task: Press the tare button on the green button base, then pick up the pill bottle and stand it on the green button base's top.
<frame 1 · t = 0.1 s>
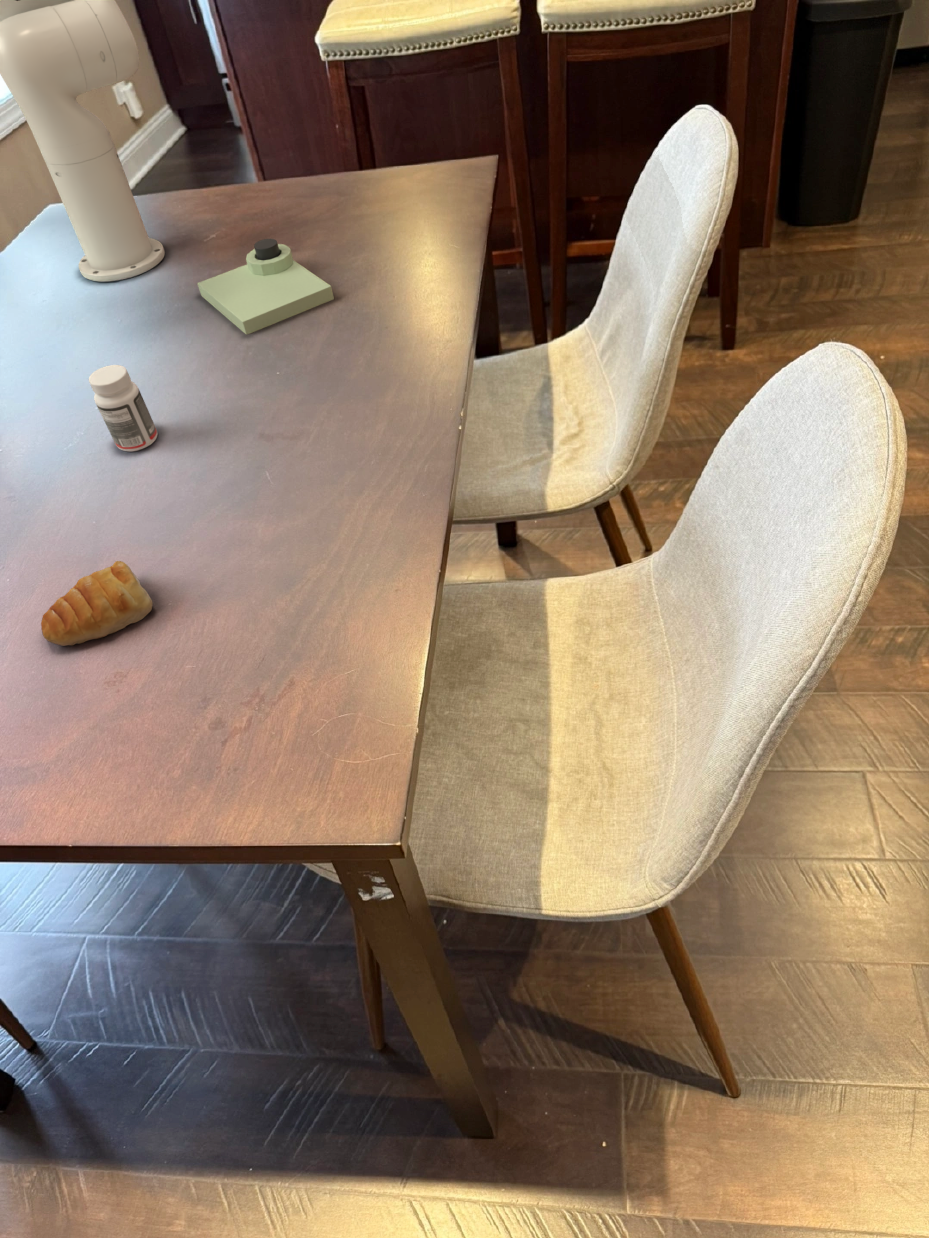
green button base: (266, 298, 117), on the table
tare button: (267, 250, 118), point 4 cm above the table, slide at 0.1 cm
pastry: (108, 616, 78), on the table
pill bottle: (138, 441, 97), on the table
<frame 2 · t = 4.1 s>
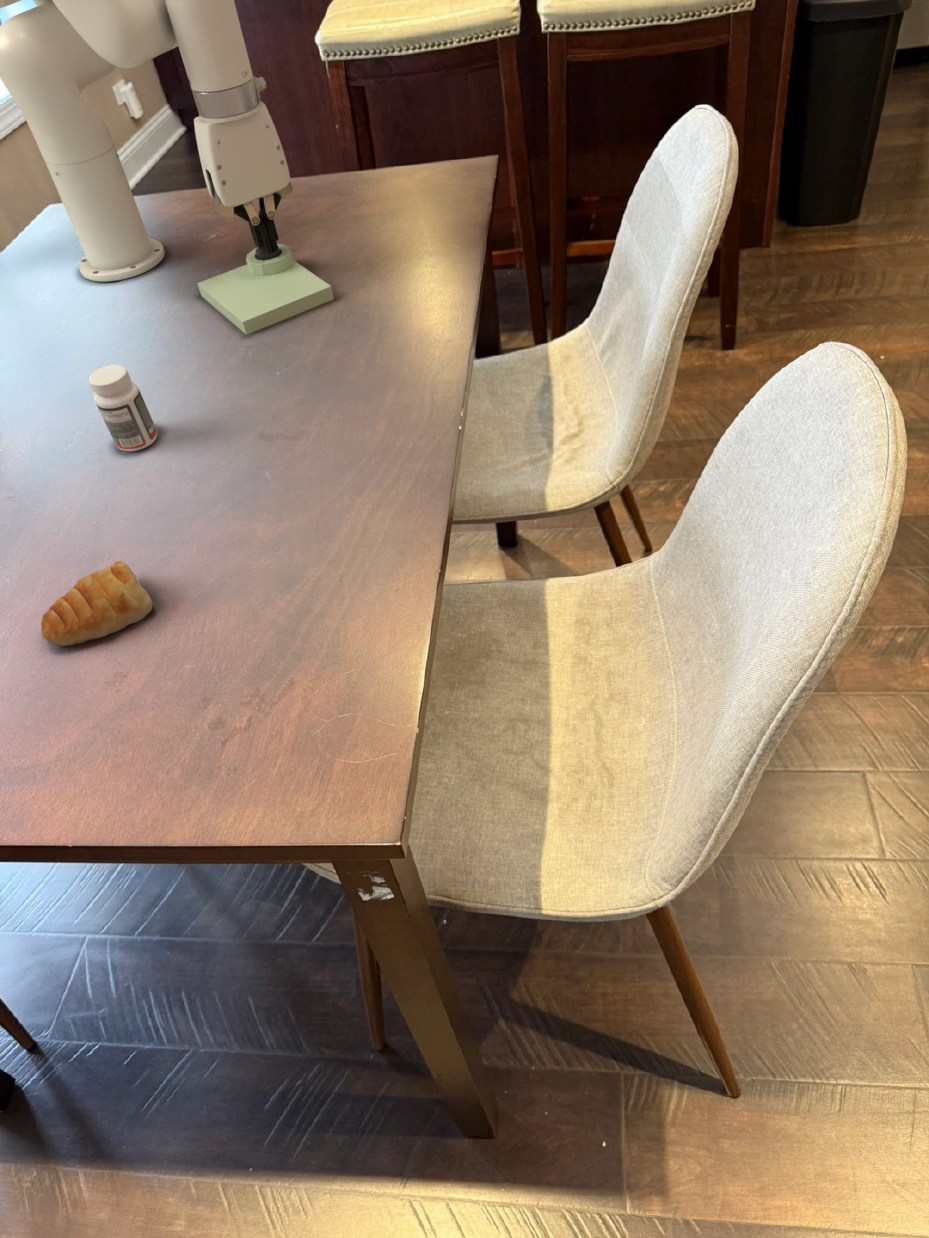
hand: (268, 249, 118), 4 cm above the table, tool pointing down, fingers closed
tare button: (268, 255, 119), point 3 cm above the table, slide at -0.6 cm, touching gripper
everything else where it was.
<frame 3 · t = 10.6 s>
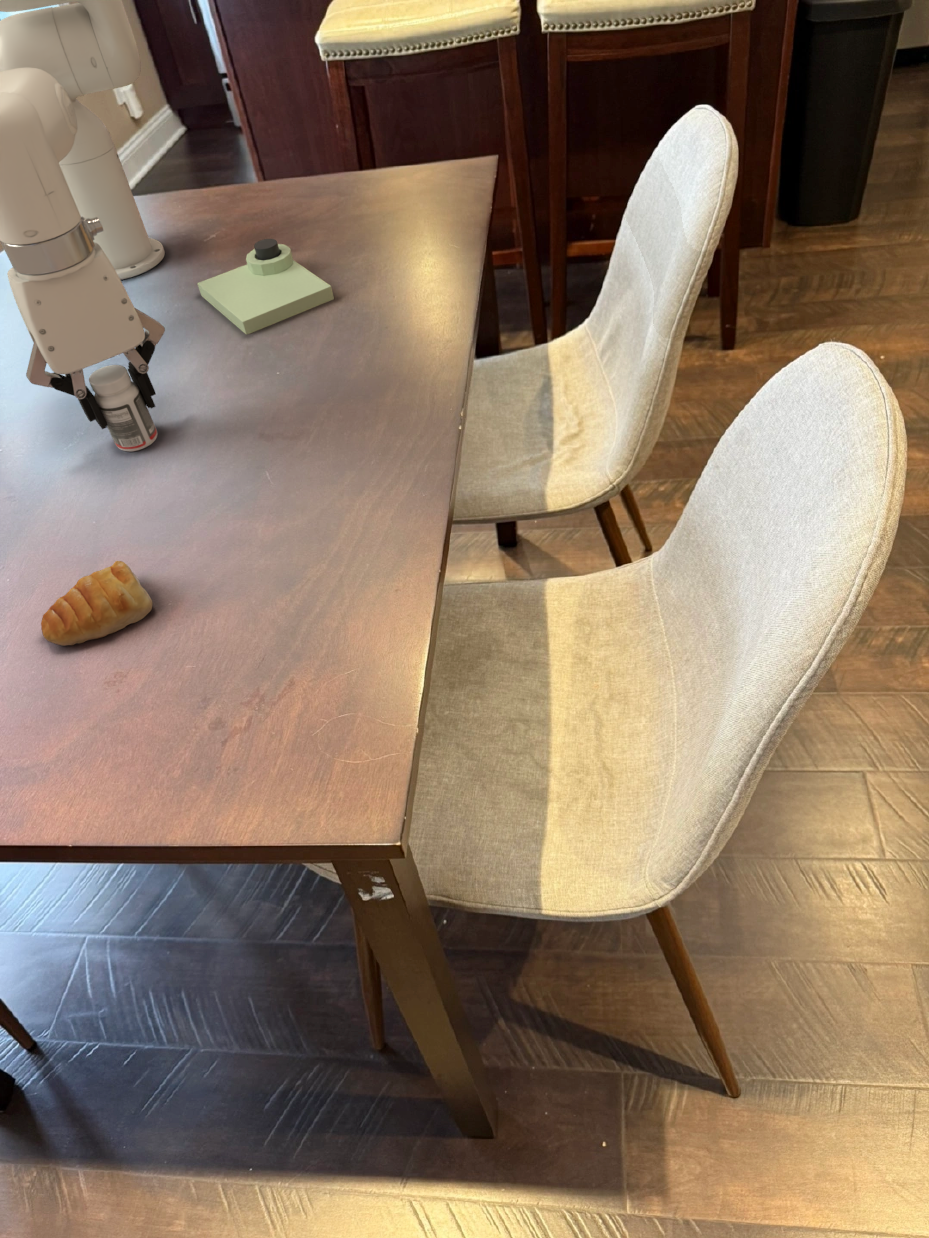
hand: (124, 411, 94), 4 cm above the table, tool pointing down, fingers closed on pill bottle, 4 cm apart
tare button: (267, 250, 118), point 4 cm above the table, slide at 0.1 cm
pill bottle: (138, 441, 97), on the table, touching gripper
everything else where it was.
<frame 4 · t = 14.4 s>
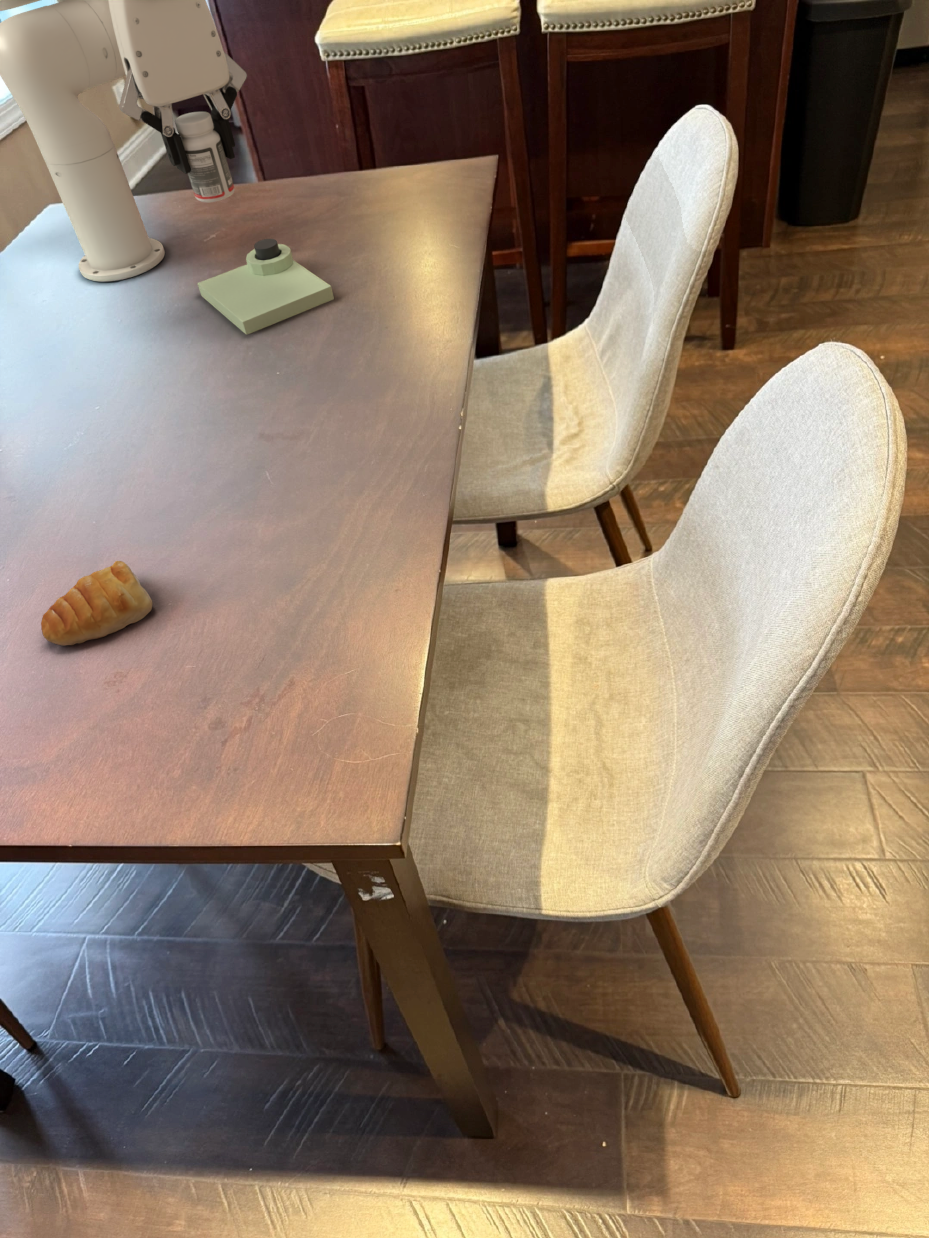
hand: (205, 161, 99), 20 cm above the table, tool pointing down, fingers closed on pill bottle, 4 cm apart
pill bottle: (215, 197, 102), point 16 cm above the table, touching gripper
everything else where it was.
when the fingers open (6 cm above the table, at t = 18.3 s): pill bottle stays where it is, resting on green button base.
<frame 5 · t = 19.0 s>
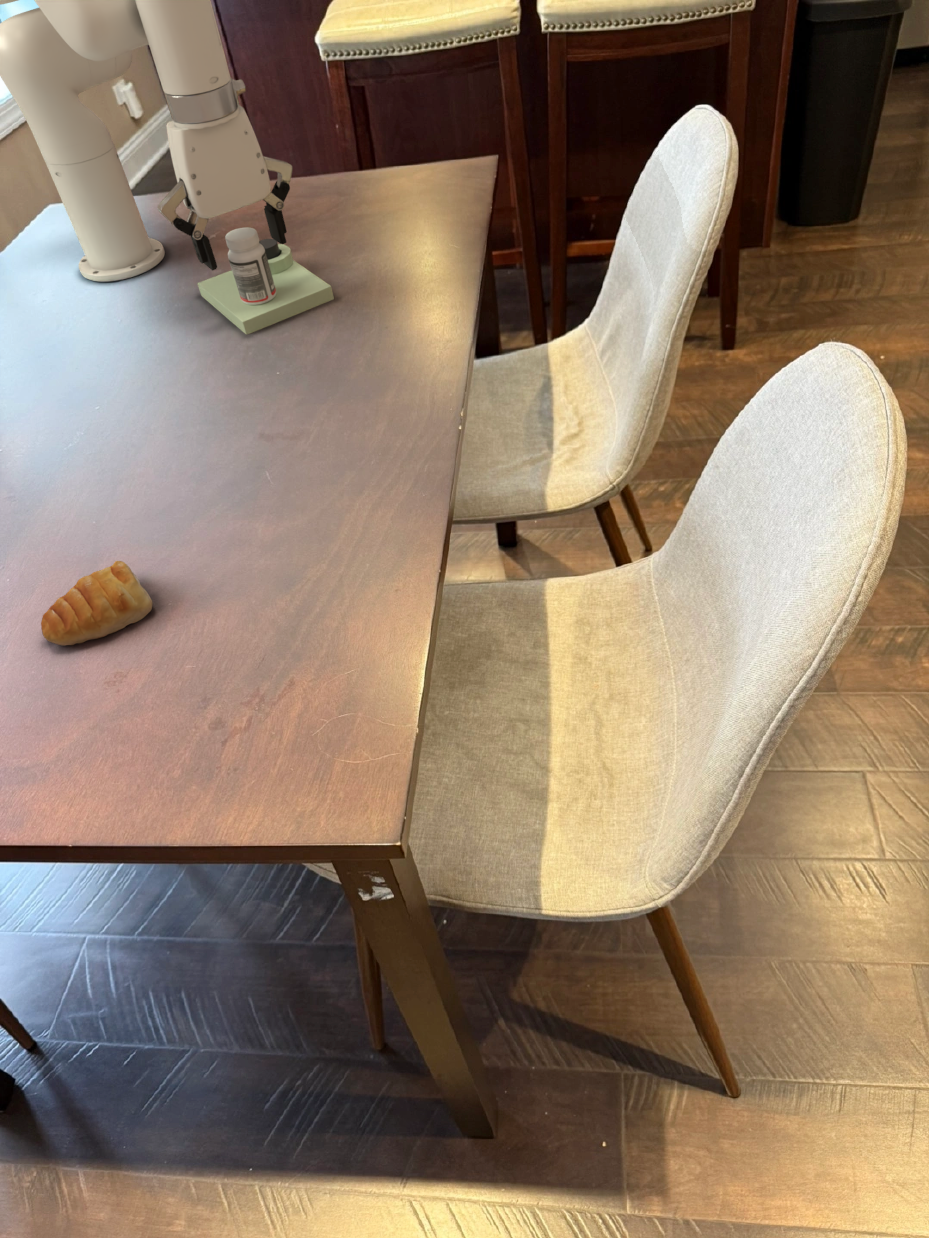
hand: (245, 253, 109), 8 cm above the table, tool pointing down, fingers open, 9 cm apart
pill bottle: (259, 298, 114), point 2 cm above the table, touching green button base
everything else where it was.
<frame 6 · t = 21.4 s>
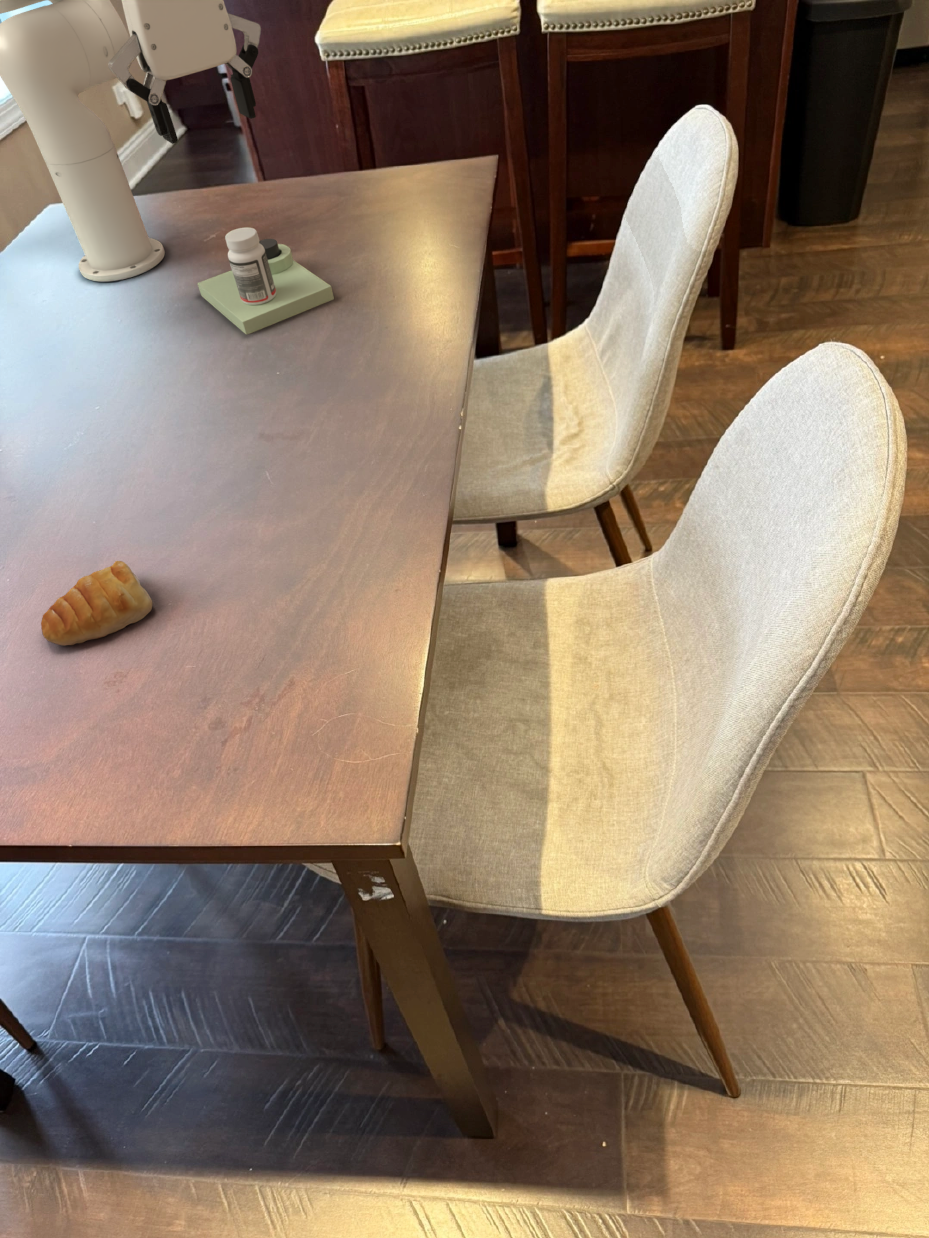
hand: (210, 128, 99), 22 cm above the table, tool pointing down, fingers open, 9 cm apart
nothing on the table moved.
at the end: tare button pushed in 0.9 cm at the most during the clip, back to where it started at the end; pill bottle inside the target area on the green button base (3.4 cm from its centre), point 1.7 cm above the green button base's base; pill bottle tilted 0° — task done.
